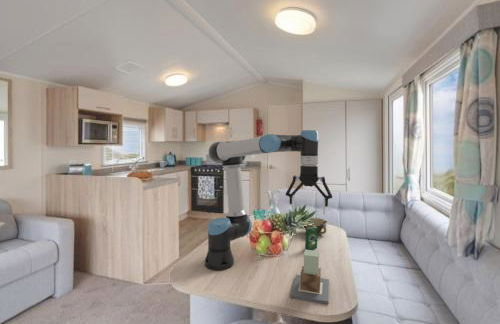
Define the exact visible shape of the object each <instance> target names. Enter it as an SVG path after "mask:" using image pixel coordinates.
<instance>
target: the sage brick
mask: <svg viewBox="0 0 500 324" xmlns="http://www.w3.org/2000/svg"><path fill="white" fill-rule="evenodd" d="M319 261H320V250H314V249H312V250H306V249H304V253H303V266H304V273H306V274H313V275H318V270H319V268H320V266H319V265H320V263H319Z"/></svg>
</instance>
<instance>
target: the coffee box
mask: <svg viewBox="0 0 500 324" xmlns="http://www.w3.org/2000/svg"><path fill="white" fill-rule="evenodd" d="M304 240H305V242H304V243H305V244H304V245H305V246H304V250H314V249H318V227H315V226H314V227H309V228H306V230H305V238H304Z"/></svg>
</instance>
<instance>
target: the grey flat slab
mask: <svg viewBox="0 0 500 324" xmlns="http://www.w3.org/2000/svg"><path fill="white" fill-rule="evenodd" d="M300 277H301V274H295V277H294V281H293V284H292V288H291V292H290V299H296V300H301V301H305V302H306V301H307V302H311V303H319V304H325V305H329V299H330V297H329V296H330V295H329V289H330V286H329V285H330V284H329V283H330V279H329V278H322V277H321V278H320V293H317V292H311V291H305V290H300Z"/></svg>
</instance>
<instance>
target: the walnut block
mask: <svg viewBox="0 0 500 324" xmlns="http://www.w3.org/2000/svg"><path fill="white" fill-rule="evenodd" d="M321 270H322V268H321V267H319V270H318V275H313V274H306V273H304V265H302V266H301V271H300V275H301V277H300V290H305V291H311V292H317V293H320V278H322V277H321V273H322V271H321Z"/></svg>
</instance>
